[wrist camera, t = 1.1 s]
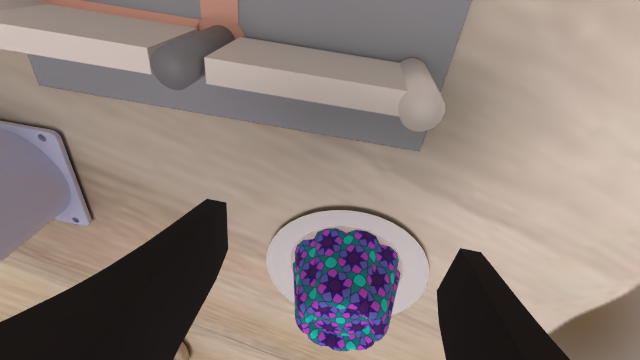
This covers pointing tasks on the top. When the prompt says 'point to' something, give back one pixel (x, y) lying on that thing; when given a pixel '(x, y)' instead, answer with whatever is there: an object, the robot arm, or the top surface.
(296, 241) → the pudding
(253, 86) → the fence gate
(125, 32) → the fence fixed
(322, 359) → the top surface
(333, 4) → the card
